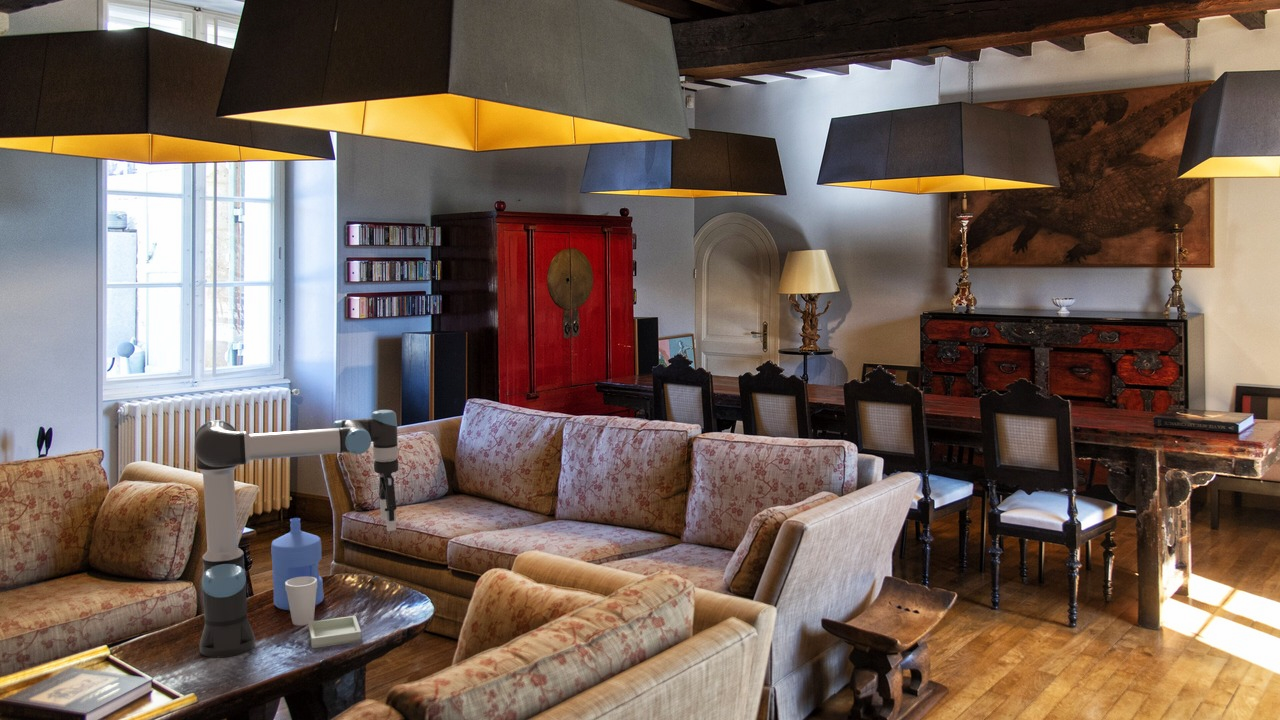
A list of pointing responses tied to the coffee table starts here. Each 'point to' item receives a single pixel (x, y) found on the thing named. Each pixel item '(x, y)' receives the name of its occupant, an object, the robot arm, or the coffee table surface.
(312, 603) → the foam cup
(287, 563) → the water jug
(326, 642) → the tray
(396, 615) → the coffee table surface
